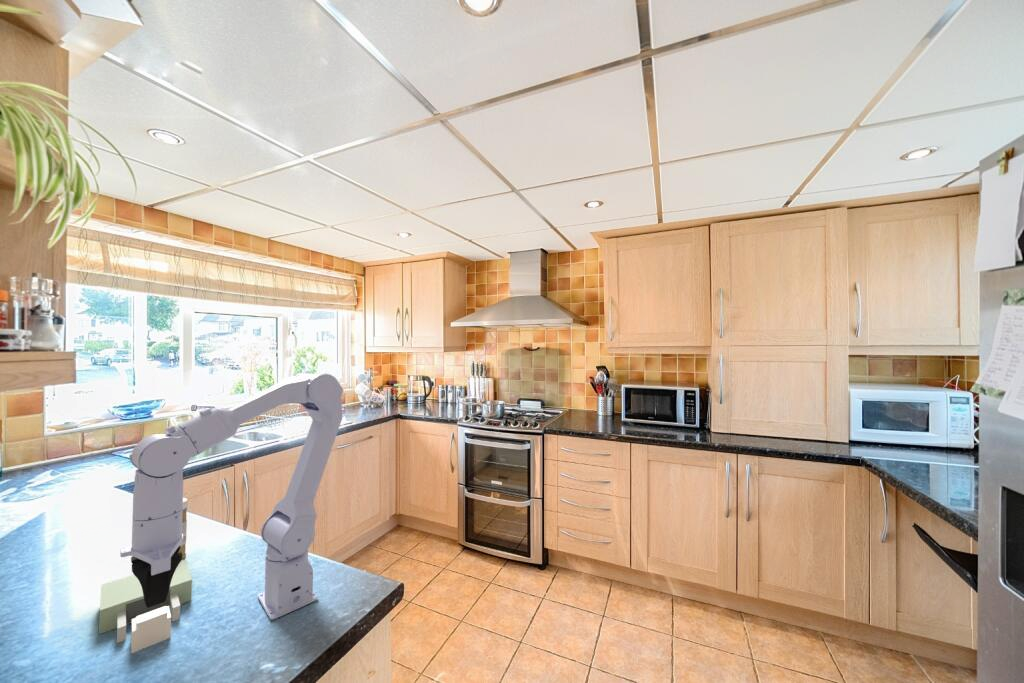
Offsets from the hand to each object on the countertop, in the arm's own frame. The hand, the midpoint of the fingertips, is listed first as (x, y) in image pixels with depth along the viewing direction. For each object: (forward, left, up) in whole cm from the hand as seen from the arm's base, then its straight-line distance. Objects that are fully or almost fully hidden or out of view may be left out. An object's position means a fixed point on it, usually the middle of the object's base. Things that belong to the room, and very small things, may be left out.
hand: (155, 601), depth 58 cm
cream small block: (+7, 0, -10) cm, 12 cm away
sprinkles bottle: (+36, -5, -10) cm, 37 cm away
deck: (+17, 0, -9) cm, 19 cm away
